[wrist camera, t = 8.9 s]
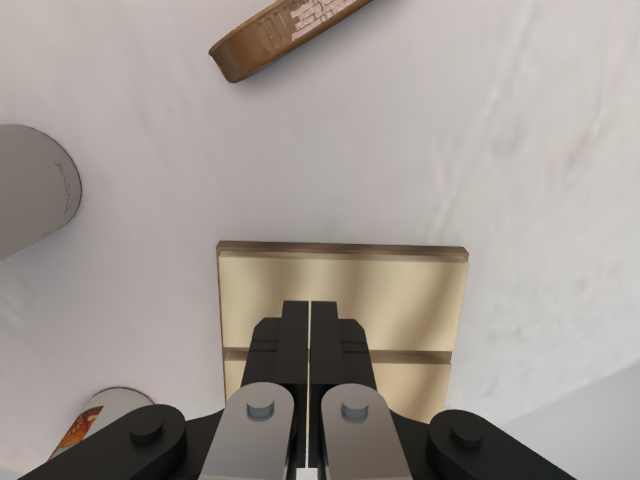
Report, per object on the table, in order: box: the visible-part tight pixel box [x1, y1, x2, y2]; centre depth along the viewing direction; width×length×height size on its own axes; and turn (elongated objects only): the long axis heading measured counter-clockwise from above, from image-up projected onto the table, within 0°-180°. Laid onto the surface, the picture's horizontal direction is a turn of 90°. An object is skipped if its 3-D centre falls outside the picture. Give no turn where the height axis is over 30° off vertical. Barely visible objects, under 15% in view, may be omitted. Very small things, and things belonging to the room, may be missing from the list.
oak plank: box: [219, 250, 469, 351], centre depth 37 cm, size 21×9×2 cm, turn 88°
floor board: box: [216, 241, 469, 436], centre depth 40 cm, size 22×20×3 cm
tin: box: [209, 0, 373, 83], centre depth 28 cm, size 15×3×8 cm, turn 119°
